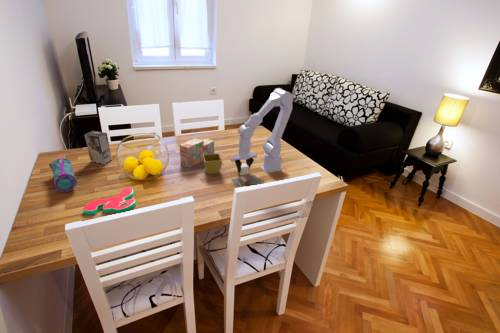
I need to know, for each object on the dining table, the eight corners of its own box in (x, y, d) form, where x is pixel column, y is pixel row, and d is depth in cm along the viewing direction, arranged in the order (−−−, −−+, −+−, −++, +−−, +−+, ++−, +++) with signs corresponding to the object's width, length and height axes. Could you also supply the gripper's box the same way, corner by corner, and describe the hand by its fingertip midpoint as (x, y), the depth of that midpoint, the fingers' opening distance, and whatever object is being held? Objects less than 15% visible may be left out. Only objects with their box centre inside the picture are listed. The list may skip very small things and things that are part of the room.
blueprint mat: (254, 175, 149) (254, 174, 148) (267, 188, 138) (267, 187, 138) (230, 180, 143) (230, 179, 143) (242, 194, 132) (242, 193, 132)
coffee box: (112, 159, 154) (107, 132, 147) (104, 164, 149) (99, 137, 141) (98, 157, 156) (92, 130, 148) (90, 162, 150) (83, 134, 143)
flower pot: (205, 177, 144) (204, 161, 140) (202, 169, 151) (202, 154, 147) (221, 175, 146) (222, 160, 142) (218, 167, 154) (219, 153, 149)
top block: (244, 170, 152) (245, 162, 150) (248, 174, 149) (249, 166, 147) (237, 172, 150) (238, 164, 148) (241, 176, 147) (241, 167, 145)
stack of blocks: (206, 152, 170) (206, 133, 165) (214, 155, 167) (214, 136, 162) (180, 164, 154) (179, 144, 149) (188, 168, 151) (187, 147, 146)
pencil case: (52, 175, 136) (46, 158, 132) (73, 171, 141) (68, 154, 137) (57, 195, 122) (51, 177, 117) (80, 190, 127) (75, 171, 122)
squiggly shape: (132, 190, 130) (132, 186, 129) (138, 210, 117) (137, 205, 116) (83, 200, 121) (82, 195, 120) (84, 222, 109) (82, 217, 107)
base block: (248, 181, 141) (248, 175, 140) (253, 186, 138) (253, 179, 136) (239, 183, 139) (239, 176, 137) (243, 188, 135) (244, 181, 134)
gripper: (253, 143, 149) (251, 165, 155) (228, 146, 143) (227, 170, 149) (259, 148, 143) (257, 171, 150) (234, 152, 137) (233, 176, 144)
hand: (243, 171), depth 149 cm, fingers closed on top block, 4 cm apart
